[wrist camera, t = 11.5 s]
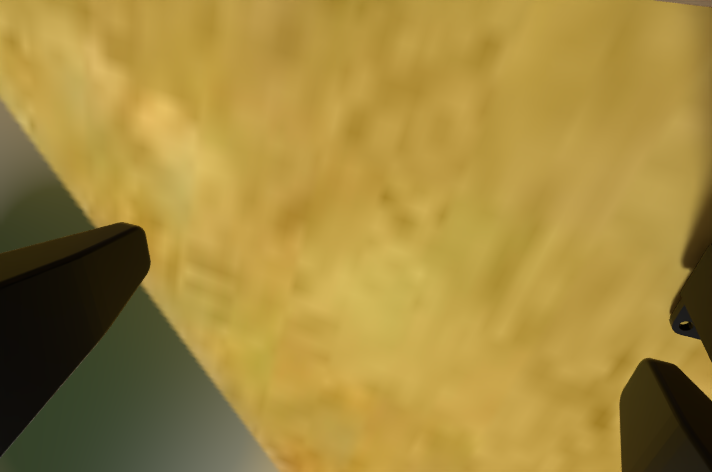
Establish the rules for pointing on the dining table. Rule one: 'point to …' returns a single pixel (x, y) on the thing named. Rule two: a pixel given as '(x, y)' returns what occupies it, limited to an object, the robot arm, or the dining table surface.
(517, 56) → the dining table surface
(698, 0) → the walnut board
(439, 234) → the dining table surface
